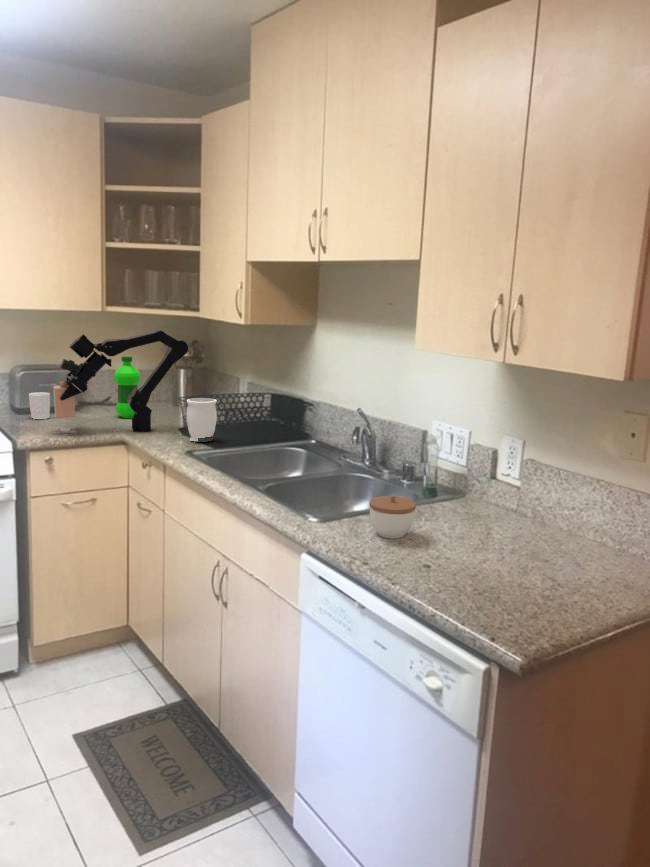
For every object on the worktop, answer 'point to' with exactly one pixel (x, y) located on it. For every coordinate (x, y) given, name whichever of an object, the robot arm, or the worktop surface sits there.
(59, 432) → the grey curved piece
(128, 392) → the plastic bottle
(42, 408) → the white cup
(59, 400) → the pink square bottle
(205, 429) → the jar
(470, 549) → the worktop surface
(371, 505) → the lidded jar
